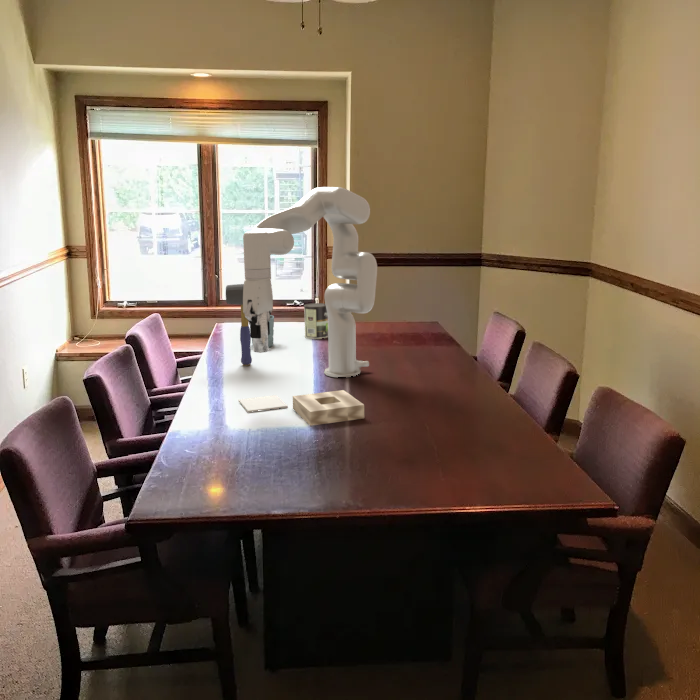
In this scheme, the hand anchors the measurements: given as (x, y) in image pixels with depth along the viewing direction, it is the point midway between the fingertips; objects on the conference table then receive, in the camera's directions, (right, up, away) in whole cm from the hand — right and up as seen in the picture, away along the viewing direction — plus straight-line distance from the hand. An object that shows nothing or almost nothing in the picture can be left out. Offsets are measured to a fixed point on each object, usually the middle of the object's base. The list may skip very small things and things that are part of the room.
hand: (260, 335), depth 207 cm
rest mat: (0, -21, +5) cm, 21 cm away
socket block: (+20, -23, -4) cm, 30 cm away
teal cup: (-10, -3, +84) cm, 84 cm away
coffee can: (+12, +1, +100) cm, 100 cm away
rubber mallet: (-12, -10, +52) cm, 54 cm away
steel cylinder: (0, -4, +1) cm, 5 cm away
